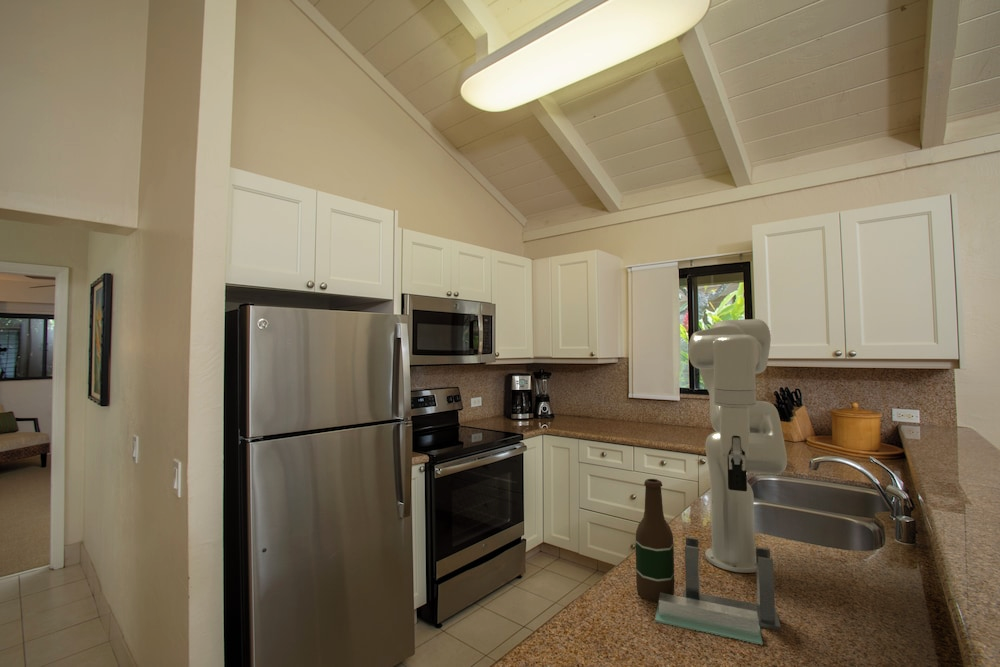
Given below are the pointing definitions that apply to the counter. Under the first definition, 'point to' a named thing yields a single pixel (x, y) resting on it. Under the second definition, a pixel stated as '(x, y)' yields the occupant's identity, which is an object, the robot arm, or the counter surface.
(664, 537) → the beer bottle
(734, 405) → the robot arm
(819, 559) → the counter surface
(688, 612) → the rail
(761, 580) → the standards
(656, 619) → the mat
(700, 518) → the counter surface
